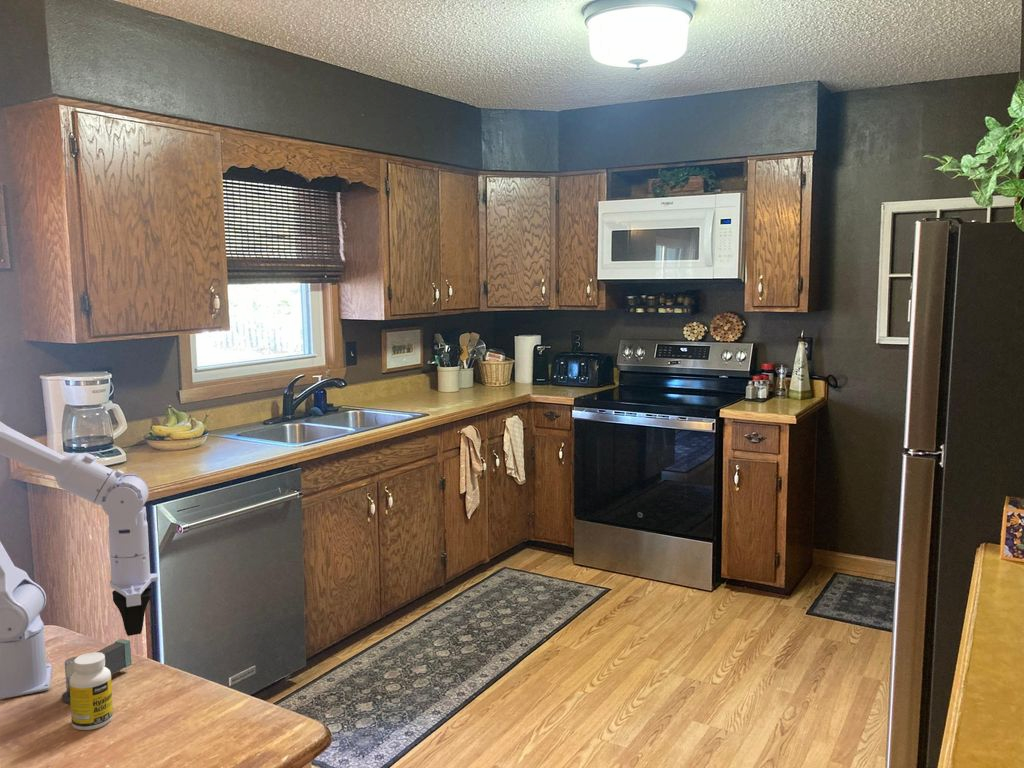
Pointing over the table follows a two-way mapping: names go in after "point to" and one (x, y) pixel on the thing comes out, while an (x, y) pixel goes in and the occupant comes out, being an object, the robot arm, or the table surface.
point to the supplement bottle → (90, 692)
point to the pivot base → (66, 698)
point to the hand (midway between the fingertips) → (134, 633)
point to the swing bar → (106, 659)
